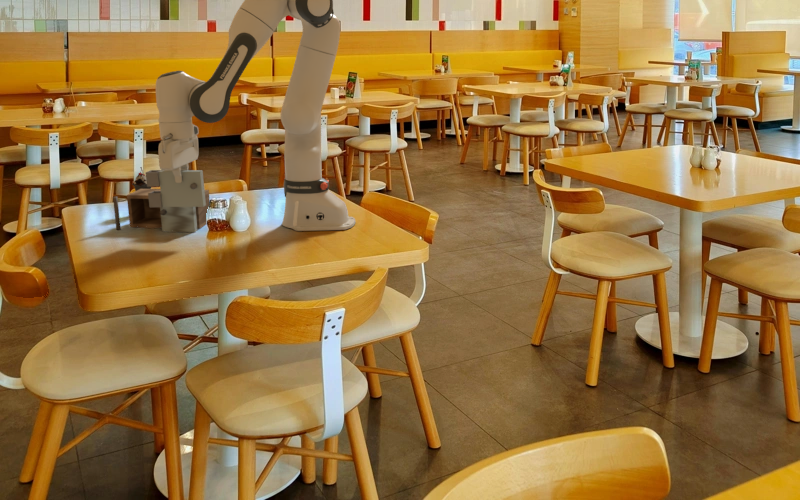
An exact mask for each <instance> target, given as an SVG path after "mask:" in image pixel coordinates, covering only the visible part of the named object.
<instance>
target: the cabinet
mask: <svg viewBox="0 0 800 500" xmlns="http://www.w3.org/2000/svg"><path fill="white" fill-rule="evenodd" d="M204 190H205V200H206V205H205V206H204V207H150V206H149V198H148V193H150V192H152V191H161V189H160V188H151V189H139V190H137V191H133V192H131V193H129V194H127V195H126V200H127V209H128V210H127V211H128V220H129V227H130V228H141V229H143V228H145V229H147V228H148V229H151V228H152V229H161V232H167V233H169V232H172V233H173V232H174V233H176V232H177V233H196V232H197V231H198V230H200V229H202V228H203V227H205V226H207V224H206V213H207V209H208V206H209V201H210V190H209V189H204ZM112 201H113V210H114V220H115V221H114V222H115V228H116V231H120V230H121V229H122V227H121V218H120V212H119V211H120V209H119V202H118V196H113V197H112ZM210 202H211V201H210Z"/></svg>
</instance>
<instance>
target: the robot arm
mask: <svg viewBox="0 0 800 500" xmlns="http://www.w3.org/2000/svg"><path fill="white" fill-rule="evenodd" d="M287 16H289V17H291V18H294V19H296V20H299V21H301V25H302V35H301V37H300V41H299V44H298V48H297V51H296V57H295V61H294V63H293V69H292V73H291V75H290V78H289V82H288V86H287V88H286V92H285V95H284V100H283V102H282V103H283V104H282V107H281V111H280V121H281V125H282V126H283V128H284V151H283V155H284V156H283V158H284V175H285V178H284V179H283V180H284V182H283V193H284V197H285V205H284V212H283V217H282V218H283V219H282V223H281V225H282V226H283V227H285V228H290V229H292V230H293V231H296V232H302V231H304V232H305V231H306V232H307V231H311V232H312V231H342V230H344V231H345V230H349V229H351V228H353V226H355V224H356V218H355V217H354V216H349V211H348V208H347V205H346V203H345V201H344V200H342V199H341V198H340V197H338V196H337V195H336V194H334V193H333V192H331V191H330V190H329V187H330V185H329V183H330V182H329V181H330V180H329V179H325V178H324V177H322V176H323V175H322V172H323V171H322V109H323V104H324V101H325V97H326V94H327V90H328V88H329V83H330V80H331V76H332V72H333V70H334V69H333V68H334V64H335V61H336V57H337V52H338V49H339V44H340V36H341V22H340V20H339V18H338V17H337V16H336V15H335V14H334V0H243V1H242V3H241V5H240V6H239V8H238V9H237V11H236V13H235V14H234V17H233V18H232V21H231V24H230V26H229V29H228V44H227V49H226V51H225V53H224V55H223V57H222V59H221V60H220V62H219V63H218V65H217V67H216V69H215V70H214V72H213V73H212V75H211V76H210V78H209V79H208V80H207V81H205V80H201V79H198V78H196V77H194V76H191V75H189V74H188V73H186V72H185V71H183V70H176V71H170V72H166V73H163V74H161V75H159V76H158V77H157V78H156V81H155V100H156V107H157V109H158V113H159V115H158V116H159V117H158V128H159V136H160V140H161V141H160V142H159V143H158V164H159V165H158V166H159V170H162V171H171V170H172V172H173V174H174V176H175V182H176V183H181V182H183V176H182V175H181V171H180V170H189V168H190V165H189V163H193V162H194V161H196V160H198V158H199V151H200V150H199V138H198V135H199V133H200V132H199V131H200V130H199V127H198V126H197V125H195V124H194V123H193V117H195V118H196V119H197V120H199V121H201V122H203V123H207V124H213V123H214V124H215V123H217V122H219V121H221V120H222V119H224V118H225V117H226V115H227V113H228V111H229V109H230V103H231V95H232V92H233V90H234V89H235V86H236V85H237V84H238V81H239V80H240V78H241V76H242V75H243V73H244V71H245V70H246V68H247V66H248V65H249V63H250V61H252V59H253V58H254V57H255V56H256V55H257V54H258V53H259V52H260V51H261V50H262V48H263V47H264V46H265V45H266V44H267V43H268V41H269V39H271V37H272V36H273V34H274V33H275V31H276V29H277V27H278V26H279V24H280V23H281V22H282V21H283V20H284V19H285V18H286V17H287Z"/></svg>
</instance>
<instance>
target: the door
mask: <svg viewBox="0 0 800 500" xmlns="http://www.w3.org/2000/svg"><path fill="white" fill-rule="evenodd" d="M180 171H181V175H182V176H183V182H181V183H176V182H175V176H174V174H173V172H172V170H170V171H162V170H161V169H150V170H147V171H146V172H145V173H144V174H145V176H146V181H147V187H151V188H152V187H160V188H159V189H161V191H152V192H150V193H148V198H149V206H150V207H204V206H205V205H206V200H205V190H206V189H205V183H204V171H203V169H201V170H199V169H198V170H197V169H196V170H195V169H194V170H193V169H191V170H190V169H188V170H180Z"/></svg>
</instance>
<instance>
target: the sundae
mask: <svg viewBox="0 0 800 500" xmlns="http://www.w3.org/2000/svg"><path fill="white" fill-rule="evenodd" d="M131 185H132V186H133V187H134V190H135V191H137V190H139V189H152V187H147V181H146V173H144V170H143V169H142V166H141V167H140V171H139V172H138V173H137V176H136V177H135V179H134V181H133V182H132V183H131ZM135 191H134V192H135Z"/></svg>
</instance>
